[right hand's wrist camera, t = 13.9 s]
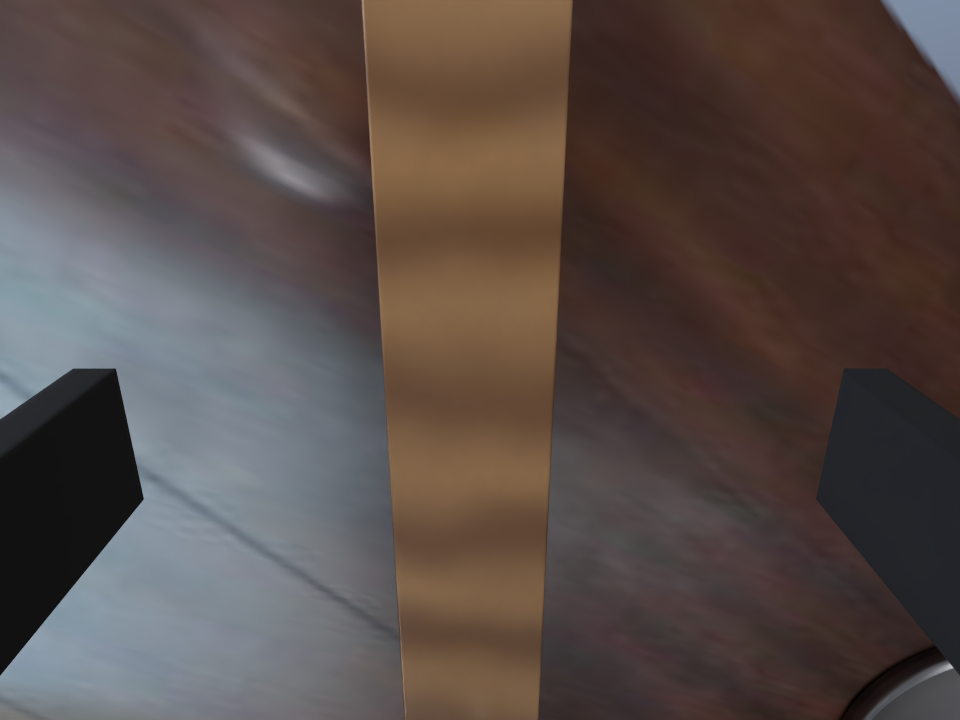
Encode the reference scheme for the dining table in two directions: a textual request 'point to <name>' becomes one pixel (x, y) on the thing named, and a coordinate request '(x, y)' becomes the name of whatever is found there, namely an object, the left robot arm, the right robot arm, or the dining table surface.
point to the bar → (469, 333)
